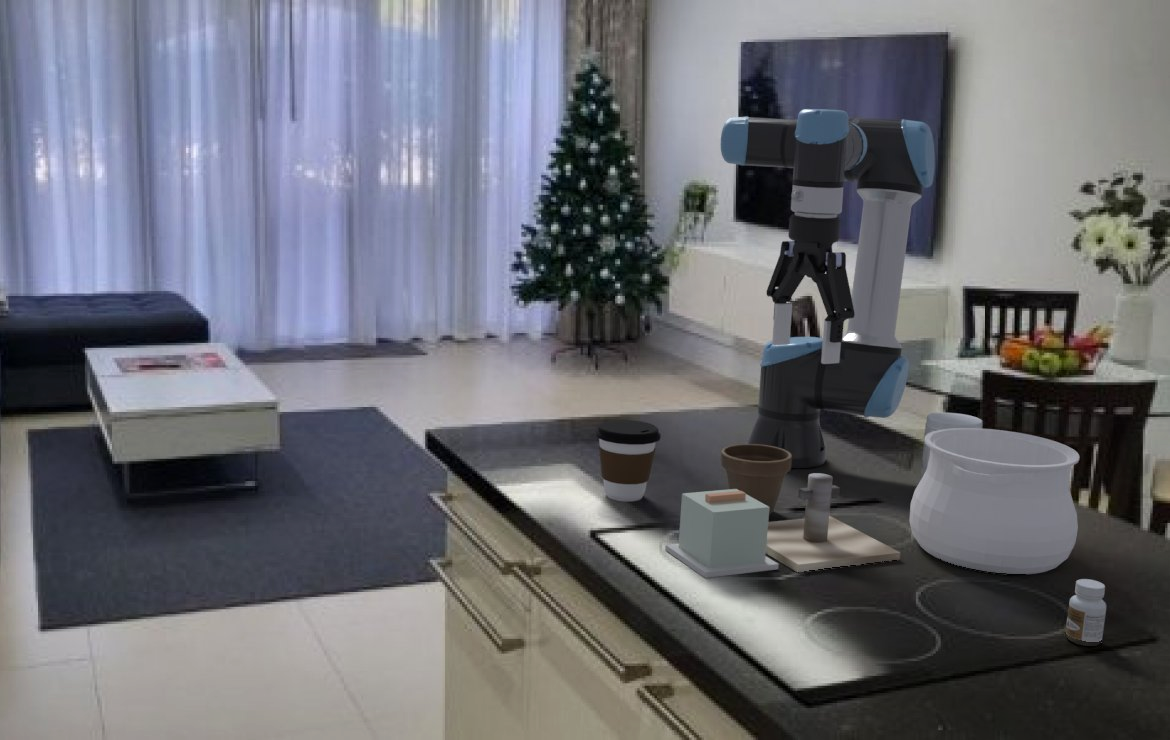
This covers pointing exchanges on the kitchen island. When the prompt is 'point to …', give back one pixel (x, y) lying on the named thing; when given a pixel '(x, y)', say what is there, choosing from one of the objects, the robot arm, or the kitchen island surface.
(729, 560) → the cube with orange handle
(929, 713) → the kitchen island surface
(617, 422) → the coffee cup
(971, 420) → the supplement tub
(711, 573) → the pad
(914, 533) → the pot
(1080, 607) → the pill bottle
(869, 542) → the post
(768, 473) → the flower pot
